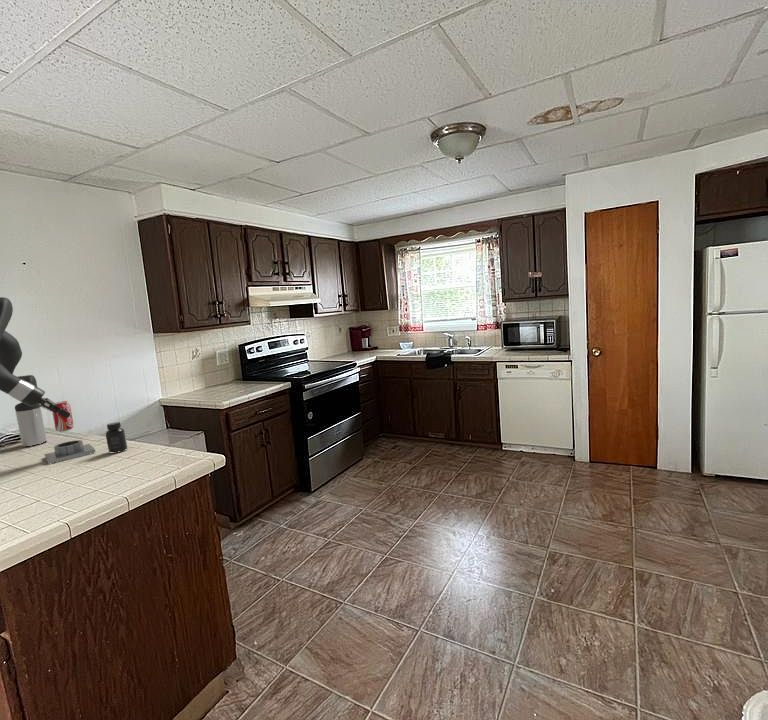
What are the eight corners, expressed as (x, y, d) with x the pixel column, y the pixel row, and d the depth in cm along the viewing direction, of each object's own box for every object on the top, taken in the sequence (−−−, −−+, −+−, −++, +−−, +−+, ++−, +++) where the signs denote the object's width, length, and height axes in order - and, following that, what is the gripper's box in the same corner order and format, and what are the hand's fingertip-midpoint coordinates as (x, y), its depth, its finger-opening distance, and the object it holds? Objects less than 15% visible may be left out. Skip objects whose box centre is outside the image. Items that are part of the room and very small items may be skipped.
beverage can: (64, 432, 178) (59, 403, 176) (52, 432, 179) (46, 404, 177) (77, 428, 184) (73, 400, 182) (65, 428, 185) (61, 401, 184)
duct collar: (44, 457, 182) (42, 446, 182) (89, 447, 193) (87, 436, 193) (48, 464, 172) (46, 452, 172) (95, 452, 183) (93, 441, 182)
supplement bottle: (131, 448, 185) (126, 420, 184) (120, 453, 179) (115, 425, 177) (116, 448, 186) (111, 421, 185) (104, 454, 179) (100, 426, 178)
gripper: (35, 386, 169) (77, 409, 178) (32, 384, 179) (71, 405, 188) (20, 402, 166) (63, 425, 175) (18, 399, 176) (59, 420, 186)
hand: (67, 415), depth 182 cm, fingers closed on beverage can, 6 cm apart
